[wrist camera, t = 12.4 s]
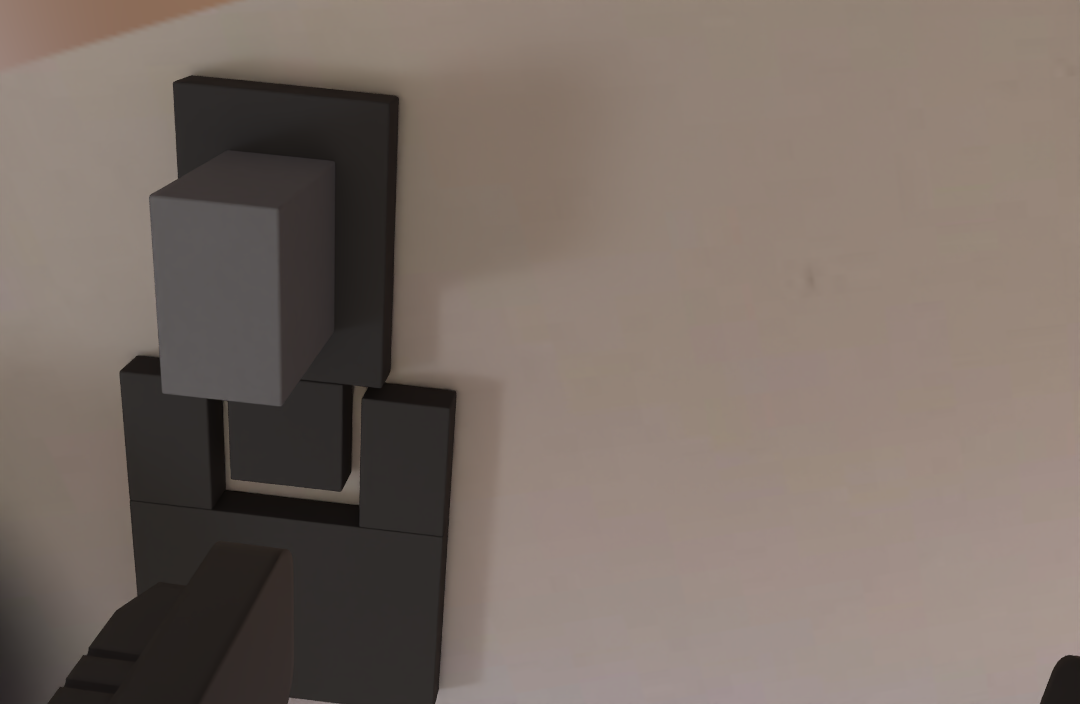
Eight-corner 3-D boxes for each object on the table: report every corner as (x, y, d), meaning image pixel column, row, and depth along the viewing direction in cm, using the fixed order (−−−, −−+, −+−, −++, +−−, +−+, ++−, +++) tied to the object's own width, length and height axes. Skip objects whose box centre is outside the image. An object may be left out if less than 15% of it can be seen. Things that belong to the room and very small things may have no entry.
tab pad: (189, 74, 34) (79, 114, 27) (399, 95, 34) (341, 140, 27) (208, 456, 40) (120, 569, 33) (387, 476, 39) (337, 595, 32)
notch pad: (136, 354, 38) (118, 371, 37) (456, 390, 38) (450, 408, 36) (159, 656, 44) (143, 680, 42) (438, 690, 43) (432, 715, 42)
